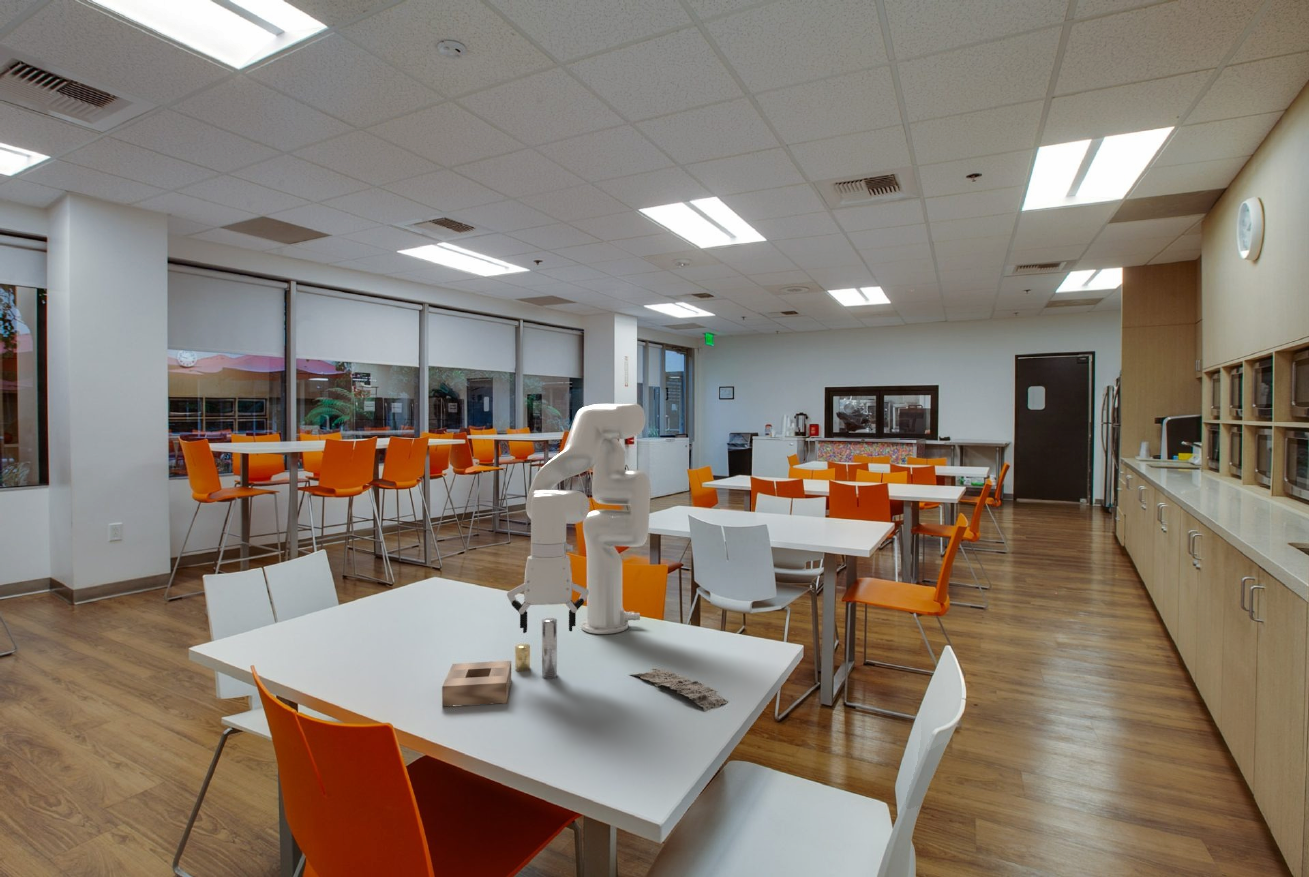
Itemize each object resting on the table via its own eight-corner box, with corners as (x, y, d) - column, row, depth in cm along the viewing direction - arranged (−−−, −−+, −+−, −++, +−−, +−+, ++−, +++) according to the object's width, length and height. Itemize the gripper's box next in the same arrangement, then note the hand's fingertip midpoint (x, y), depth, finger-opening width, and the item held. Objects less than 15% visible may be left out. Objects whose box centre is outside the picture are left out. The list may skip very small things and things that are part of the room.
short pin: (530, 665, 144) (530, 643, 144) (529, 670, 141) (529, 648, 141) (515, 666, 144) (515, 644, 144) (514, 671, 141) (514, 648, 141)
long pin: (557, 672, 140) (556, 617, 140) (557, 677, 137) (556, 621, 137) (542, 673, 140) (542, 618, 140) (541, 678, 136) (541, 622, 136)
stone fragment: (709, 718, 120) (739, 701, 127) (709, 703, 120) (739, 687, 127) (613, 681, 136) (645, 668, 144) (613, 668, 136) (645, 655, 144)
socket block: (511, 679, 136) (511, 660, 136) (506, 703, 124) (506, 682, 124) (452, 682, 134) (452, 663, 134) (442, 707, 123) (442, 686, 123)
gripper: (588, 547, 143) (587, 624, 142) (508, 548, 140) (508, 626, 140) (589, 552, 135) (589, 634, 135) (505, 554, 133) (505, 637, 133)
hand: (547, 630), depth 138 cm, fingers open, 9 cm apart
